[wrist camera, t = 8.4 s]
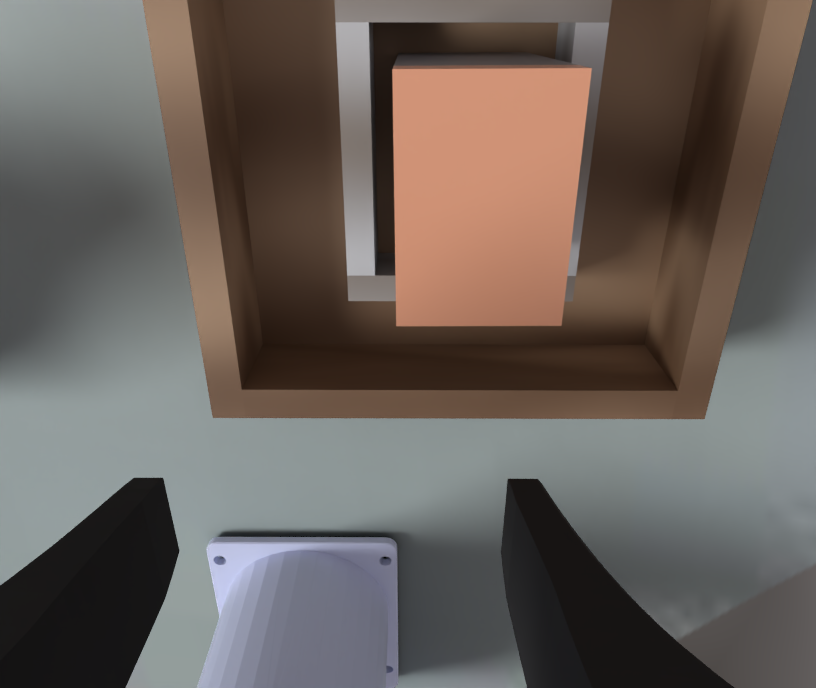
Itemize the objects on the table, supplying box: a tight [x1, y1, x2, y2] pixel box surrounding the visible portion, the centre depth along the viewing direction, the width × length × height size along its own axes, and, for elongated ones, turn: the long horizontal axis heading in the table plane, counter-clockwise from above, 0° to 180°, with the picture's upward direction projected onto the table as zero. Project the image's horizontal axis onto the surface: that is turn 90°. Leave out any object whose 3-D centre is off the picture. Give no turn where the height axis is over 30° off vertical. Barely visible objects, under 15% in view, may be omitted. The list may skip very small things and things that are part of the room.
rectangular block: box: [392, 52, 592, 326], centre depth 15 cm, size 5×4×7 cm
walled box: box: [143, 0, 813, 419], centre depth 17 cm, size 15×15×4 cm
